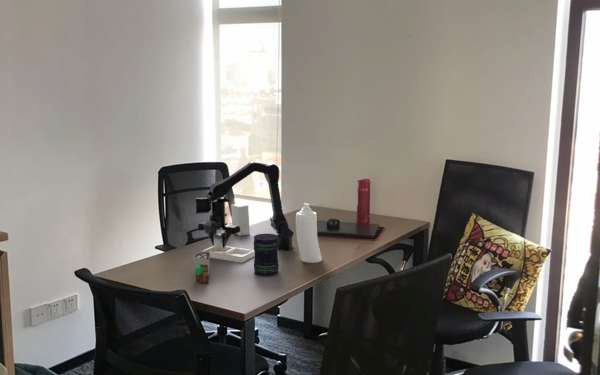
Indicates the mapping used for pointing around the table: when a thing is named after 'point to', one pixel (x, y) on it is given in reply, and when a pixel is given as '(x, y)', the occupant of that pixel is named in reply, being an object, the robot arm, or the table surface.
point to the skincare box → (241, 218)
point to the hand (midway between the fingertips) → (219, 246)
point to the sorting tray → (231, 254)
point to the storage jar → (266, 255)
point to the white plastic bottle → (307, 235)
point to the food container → (202, 266)
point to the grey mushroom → (218, 242)
